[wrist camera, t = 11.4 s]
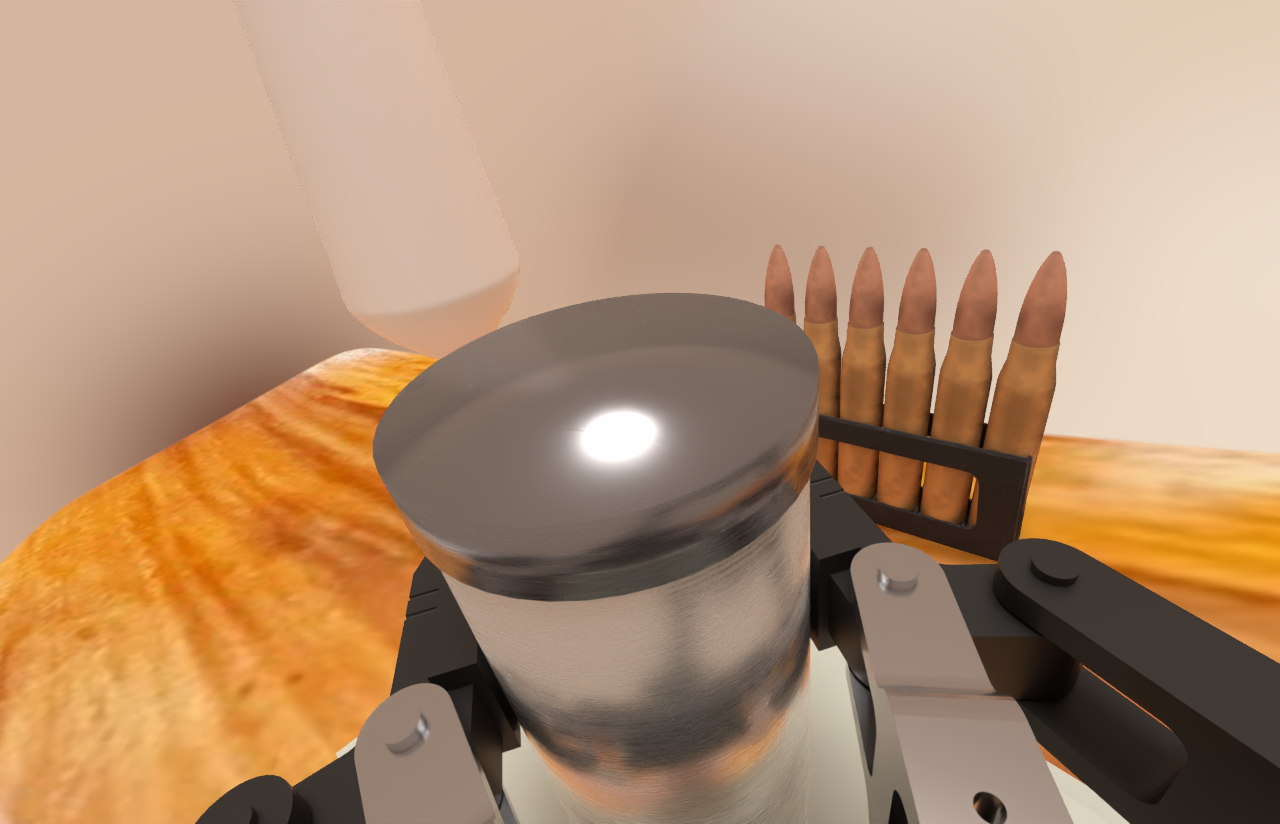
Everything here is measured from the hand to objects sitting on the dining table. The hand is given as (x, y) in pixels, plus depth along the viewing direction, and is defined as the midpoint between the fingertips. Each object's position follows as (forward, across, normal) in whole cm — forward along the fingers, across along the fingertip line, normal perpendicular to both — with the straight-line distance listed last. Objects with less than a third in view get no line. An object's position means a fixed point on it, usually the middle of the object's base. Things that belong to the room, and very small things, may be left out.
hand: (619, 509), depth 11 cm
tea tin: (-3, 0, +6) cm, 7 cm away
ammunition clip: (+8, -12, +11) cm, 18 cm away
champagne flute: (+14, +4, +11) cm, 18 cm away
